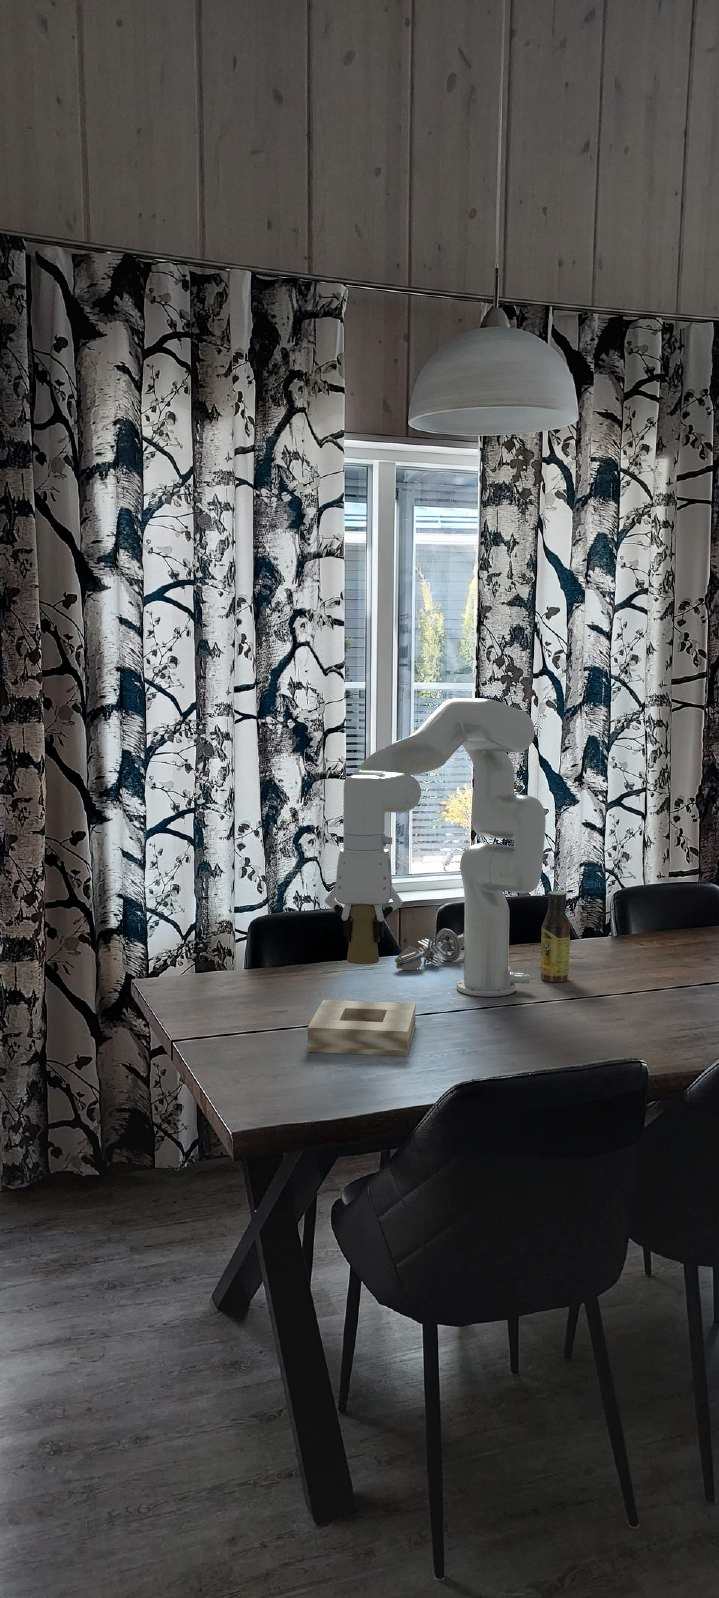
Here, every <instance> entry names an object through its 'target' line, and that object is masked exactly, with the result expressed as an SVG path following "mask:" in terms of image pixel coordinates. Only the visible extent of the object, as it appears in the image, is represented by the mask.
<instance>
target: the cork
mask: <svg viewBox="0 0 719 1598" xmlns="http://www.w3.org/2000/svg"><path fill="white" fill-rule="evenodd" d="M350 916H351V918H352V927H351V941H350V942H348V949H347V955H346V962H348V963H350V964H354V965H372V964H373V965H374V964H377V963H380V957H379V955H380V954H379V948H378V943H376V942H375V921H376V917H377V915H376V911H375V907H374V905H351V908H350Z"/></svg>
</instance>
